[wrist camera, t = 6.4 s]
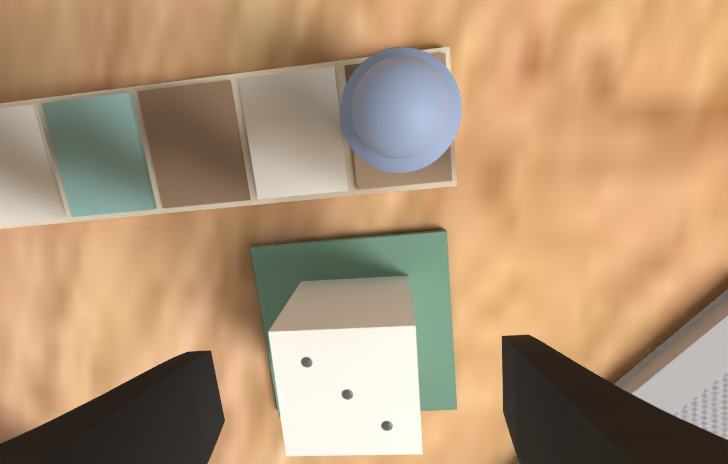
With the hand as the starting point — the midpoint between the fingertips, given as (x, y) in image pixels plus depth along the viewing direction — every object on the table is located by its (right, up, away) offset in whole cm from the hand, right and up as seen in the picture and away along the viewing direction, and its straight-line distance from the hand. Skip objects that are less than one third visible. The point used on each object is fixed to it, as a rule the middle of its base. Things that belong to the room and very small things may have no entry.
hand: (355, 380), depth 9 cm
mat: (0, -1, +9) cm, 9 cm away
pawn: (+2, +8, +6) cm, 10 cm away
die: (0, -1, +9) cm, 9 cm away
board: (-7, +7, +8) cm, 13 cm away
